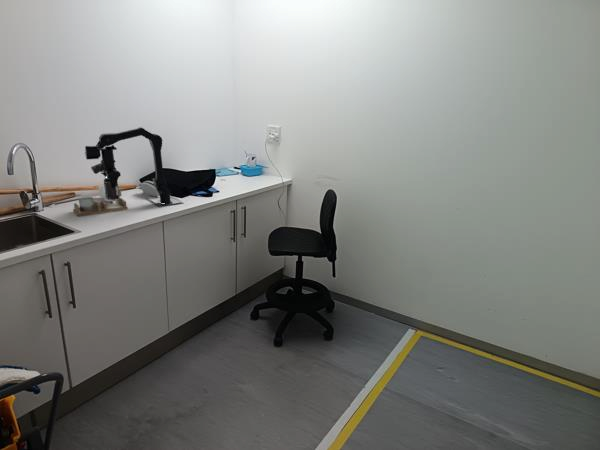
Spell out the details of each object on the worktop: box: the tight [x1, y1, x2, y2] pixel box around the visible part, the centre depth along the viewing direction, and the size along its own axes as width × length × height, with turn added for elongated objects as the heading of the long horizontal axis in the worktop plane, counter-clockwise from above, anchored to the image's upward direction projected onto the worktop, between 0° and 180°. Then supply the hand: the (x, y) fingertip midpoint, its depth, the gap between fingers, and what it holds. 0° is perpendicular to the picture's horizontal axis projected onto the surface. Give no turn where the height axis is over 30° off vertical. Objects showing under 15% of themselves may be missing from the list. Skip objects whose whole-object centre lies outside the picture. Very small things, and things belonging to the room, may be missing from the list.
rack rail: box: [72, 196, 129, 217], centre depth 218 cm, size 10×25×8 cm, turn 129°
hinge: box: [140, 180, 160, 197], centre depth 252 cm, size 17×5×10 cm, turn 53°
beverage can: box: [103, 176, 120, 200], centre depth 219 cm, size 7×7×12 cm
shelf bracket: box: [97, 185, 122, 204], centre depth 235 cm, size 6×25×13 cm, turn 45°
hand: (111, 187), depth 219 cm, fingers closed on beverage can, 7 cm apart
